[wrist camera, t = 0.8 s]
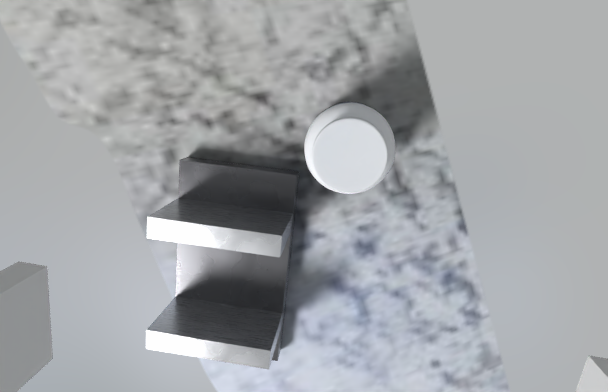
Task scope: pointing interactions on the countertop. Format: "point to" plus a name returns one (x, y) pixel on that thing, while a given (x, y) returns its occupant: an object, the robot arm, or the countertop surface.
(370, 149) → the pill bottle
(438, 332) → the countertop surface
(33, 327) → the robot arm
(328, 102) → the countertop surface
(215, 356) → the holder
